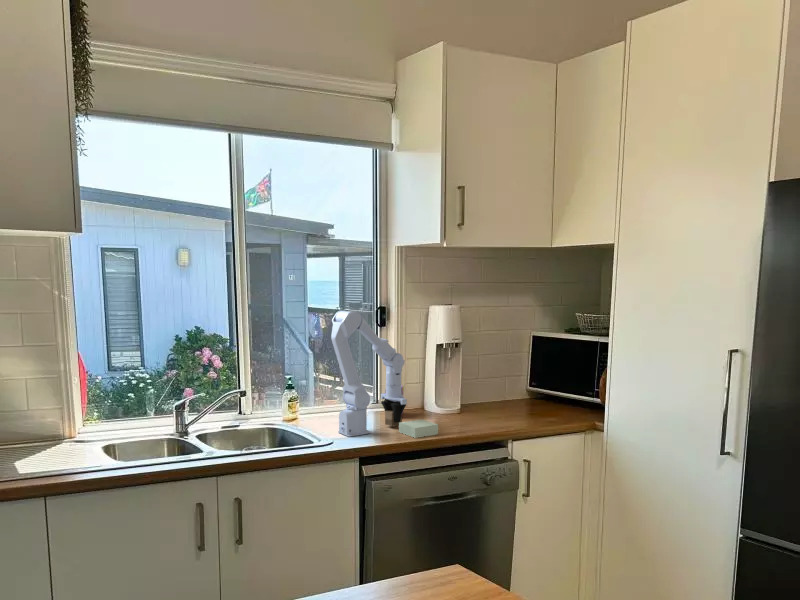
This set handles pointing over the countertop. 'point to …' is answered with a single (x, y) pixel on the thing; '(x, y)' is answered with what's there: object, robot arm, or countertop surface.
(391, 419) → the walnut block
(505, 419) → the countertop surface
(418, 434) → the base block
